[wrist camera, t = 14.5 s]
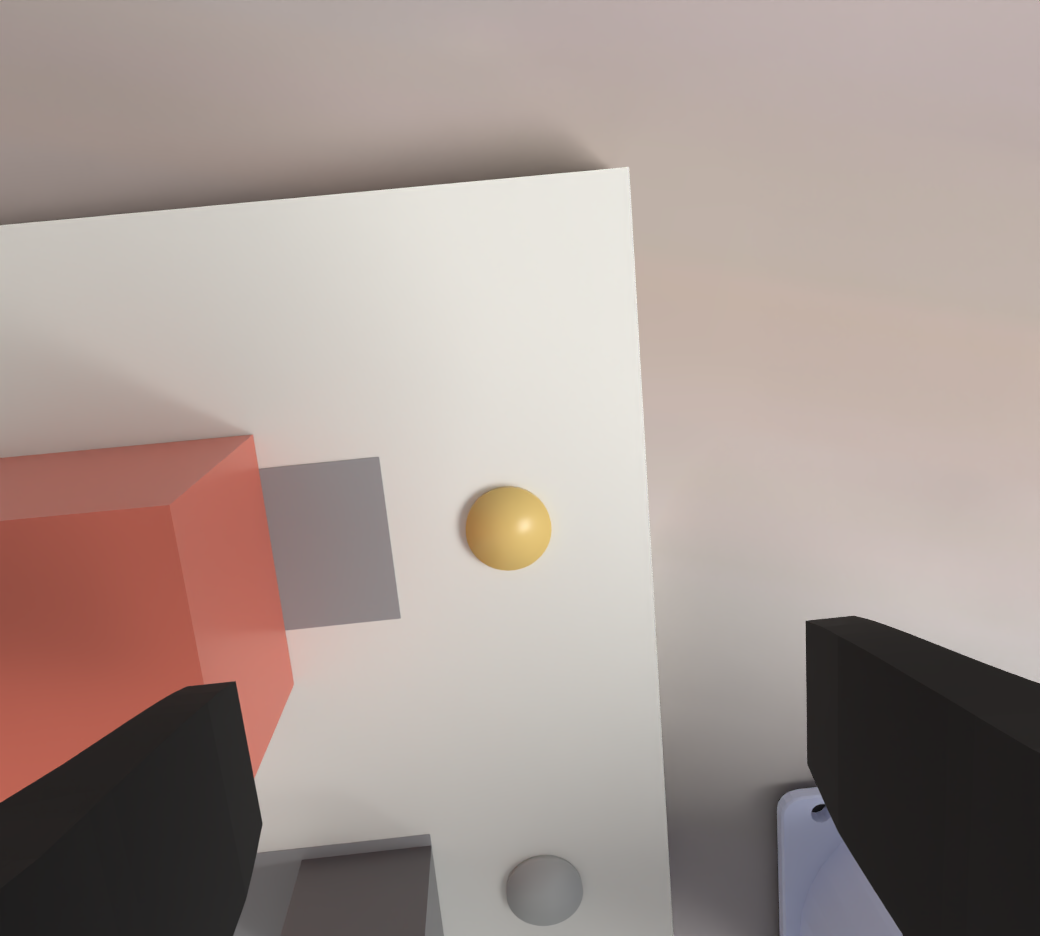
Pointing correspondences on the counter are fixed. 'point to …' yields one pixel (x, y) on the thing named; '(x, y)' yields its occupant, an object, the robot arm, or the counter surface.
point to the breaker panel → (402, 526)
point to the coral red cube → (132, 594)
